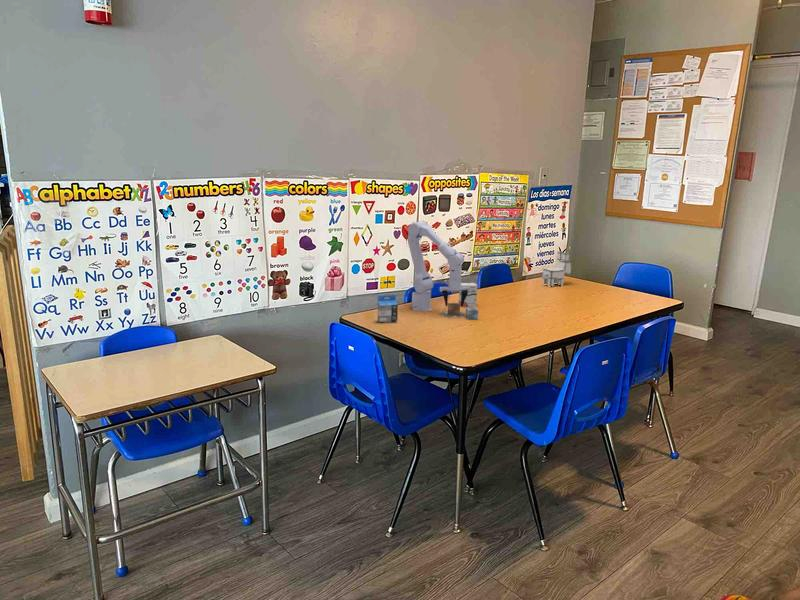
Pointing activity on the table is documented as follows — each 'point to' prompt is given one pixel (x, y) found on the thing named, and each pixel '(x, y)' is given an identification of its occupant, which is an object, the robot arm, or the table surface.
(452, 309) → the walnut block
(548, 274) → the toy llama
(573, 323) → the table surface
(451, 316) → the letter card
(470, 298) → the ink box
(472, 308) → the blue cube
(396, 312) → the label tape box
